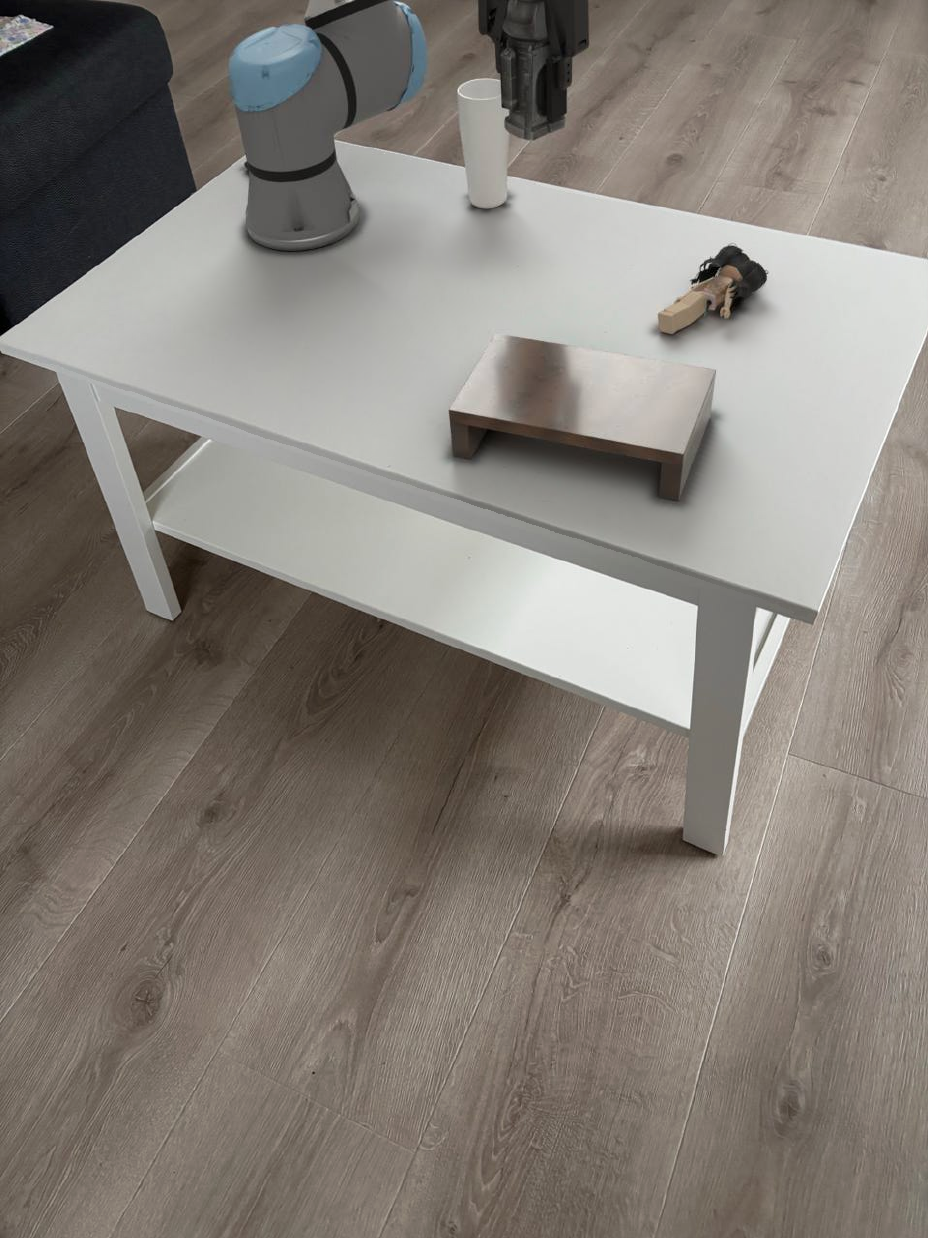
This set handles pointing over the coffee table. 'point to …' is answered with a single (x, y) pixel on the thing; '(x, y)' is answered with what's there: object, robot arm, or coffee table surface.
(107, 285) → the coffee table surface
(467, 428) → the shelf
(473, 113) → the drinking glass
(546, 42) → the toy
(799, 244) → the coffee table surface
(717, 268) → the toy figure
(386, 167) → the coffee table surface
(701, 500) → the coffee table surface
